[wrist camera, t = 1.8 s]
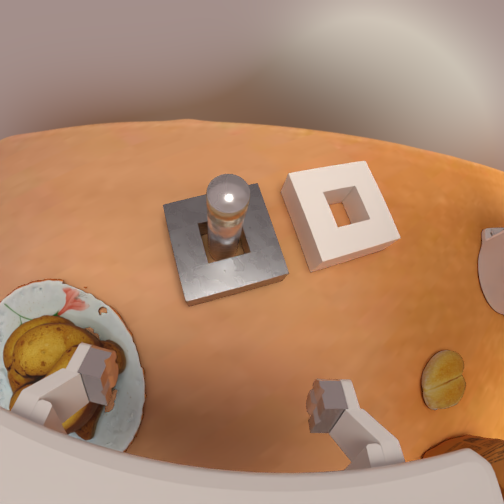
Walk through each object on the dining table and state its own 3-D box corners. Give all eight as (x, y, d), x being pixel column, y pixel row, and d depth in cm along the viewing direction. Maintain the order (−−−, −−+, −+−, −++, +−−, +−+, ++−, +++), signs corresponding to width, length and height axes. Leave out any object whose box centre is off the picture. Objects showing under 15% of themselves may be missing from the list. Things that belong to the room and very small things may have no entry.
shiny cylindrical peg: (232, 232, 41) (243, 169, 27) (240, 258, 40) (256, 206, 26) (204, 239, 40) (201, 178, 26) (212, 266, 40) (212, 216, 25)
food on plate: (11, 266, 36) (-14, 252, 30) (163, 306, 38) (154, 297, 31) (-13, 425, 28) (-39, 431, 22) (135, 490, 29) (123, 511, 23)
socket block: (253, 197, 43) (257, 183, 39) (281, 280, 40) (288, 273, 36) (167, 218, 41) (162, 204, 37) (188, 306, 38) (186, 301, 34)
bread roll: (454, 346, 40) (471, 343, 36) (458, 399, 37) (474, 400, 34) (416, 357, 39) (432, 356, 35) (419, 414, 36) (436, 418, 33)
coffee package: (467, 477, 33) (560, 501, 12) (412, 499, 32) (508, 546, 11) (474, 427, 36) (577, 435, 15) (420, 445, 35) (533, 475, 14)
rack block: (352, 178, 46) (365, 160, 42) (383, 249, 43) (400, 237, 38) (280, 191, 44) (288, 173, 39) (310, 272, 41) (322, 261, 36)
